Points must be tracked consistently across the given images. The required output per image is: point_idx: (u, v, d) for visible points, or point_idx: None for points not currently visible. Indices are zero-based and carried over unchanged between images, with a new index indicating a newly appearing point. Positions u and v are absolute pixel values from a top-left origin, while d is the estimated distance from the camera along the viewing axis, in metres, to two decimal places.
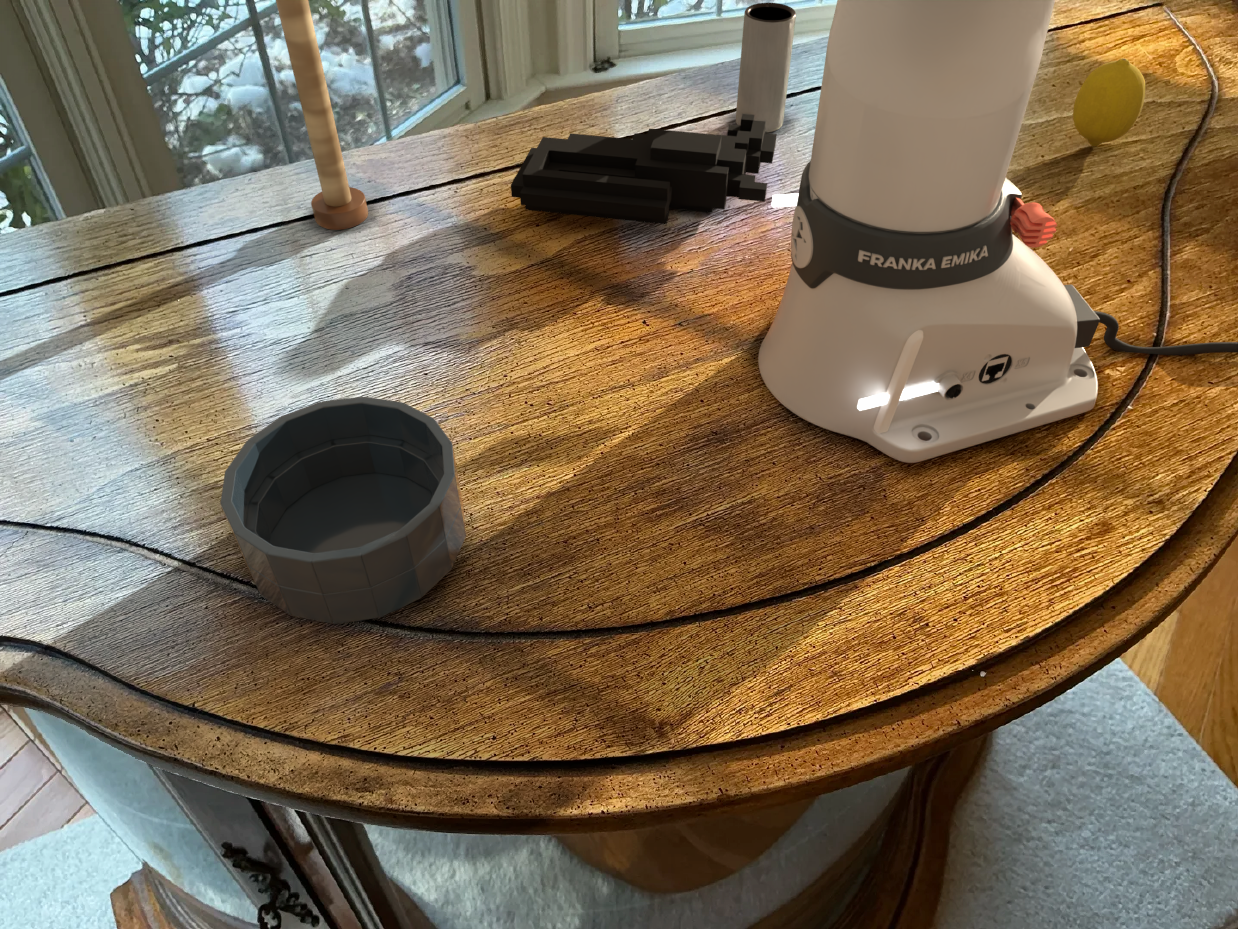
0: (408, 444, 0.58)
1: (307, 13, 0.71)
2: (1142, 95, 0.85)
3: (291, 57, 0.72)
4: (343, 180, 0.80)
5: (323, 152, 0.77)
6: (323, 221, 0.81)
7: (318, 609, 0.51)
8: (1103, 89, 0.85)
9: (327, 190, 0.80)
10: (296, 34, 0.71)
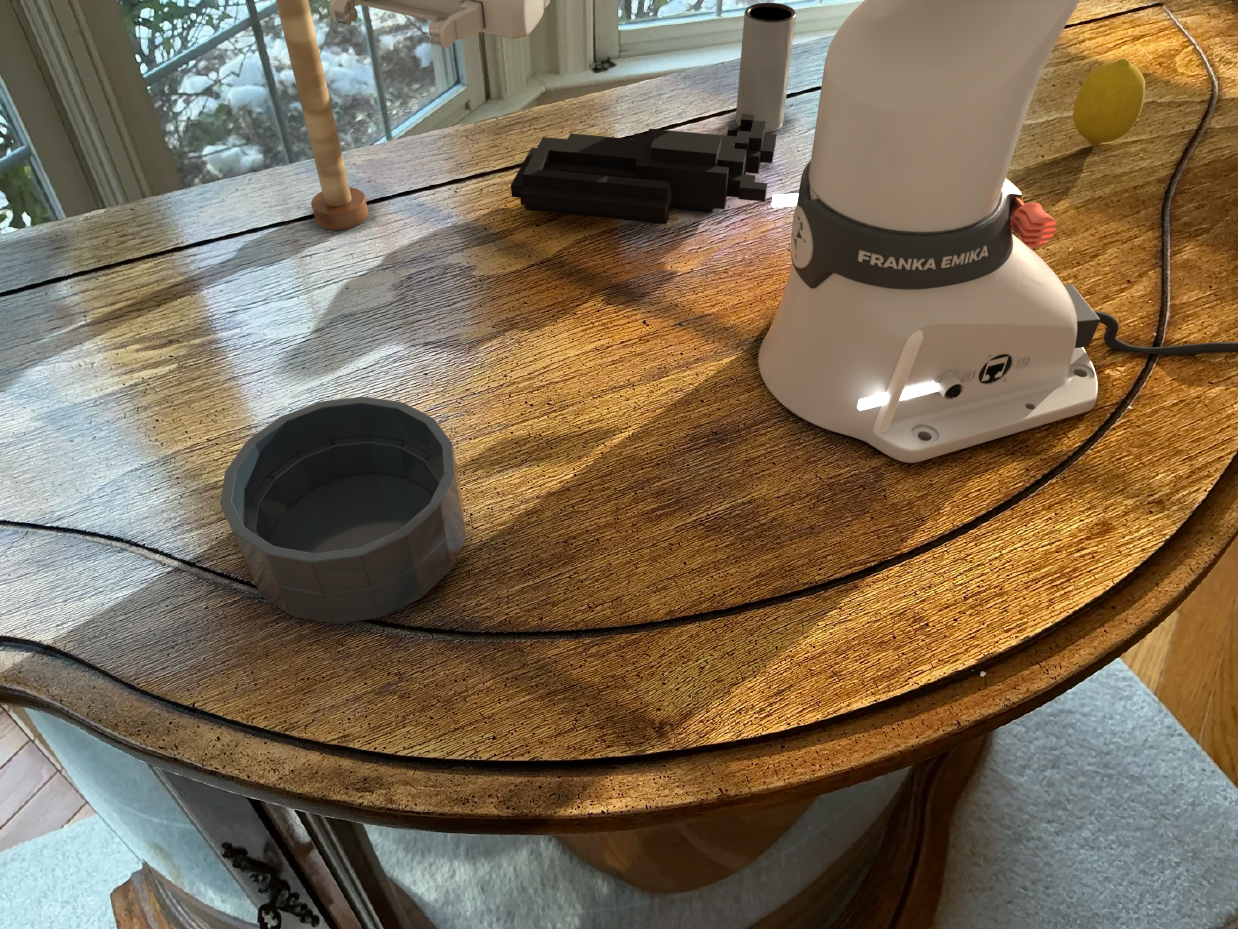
0: (408, 444, 0.58)
1: (307, 13, 0.71)
2: (1142, 95, 0.85)
3: (291, 57, 0.72)
4: (343, 180, 0.80)
5: (323, 152, 0.77)
6: (323, 221, 0.81)
7: (318, 609, 0.51)
8: (1103, 89, 0.85)
9: (327, 190, 0.80)
10: (296, 34, 0.71)
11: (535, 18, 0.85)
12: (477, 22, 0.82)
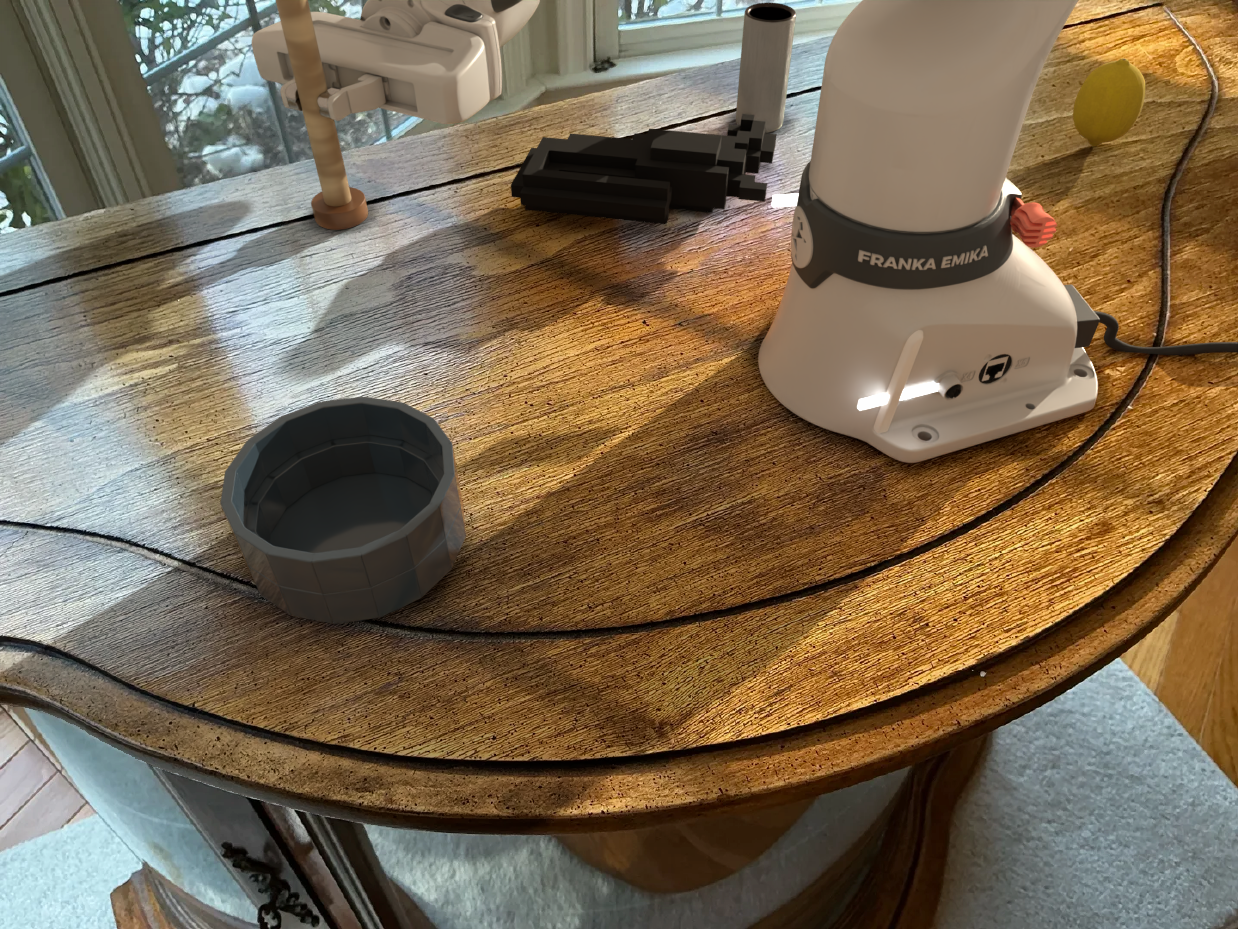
0: (408, 444, 0.58)
1: (307, 13, 0.71)
2: (1142, 95, 0.85)
3: (291, 57, 0.72)
4: (343, 180, 0.80)
5: (323, 151, 0.77)
6: (323, 221, 0.81)
7: (318, 609, 0.51)
8: (1103, 89, 0.85)
9: (327, 190, 0.80)
10: (296, 34, 0.71)
11: (474, 104, 0.77)
12: (375, 97, 0.76)
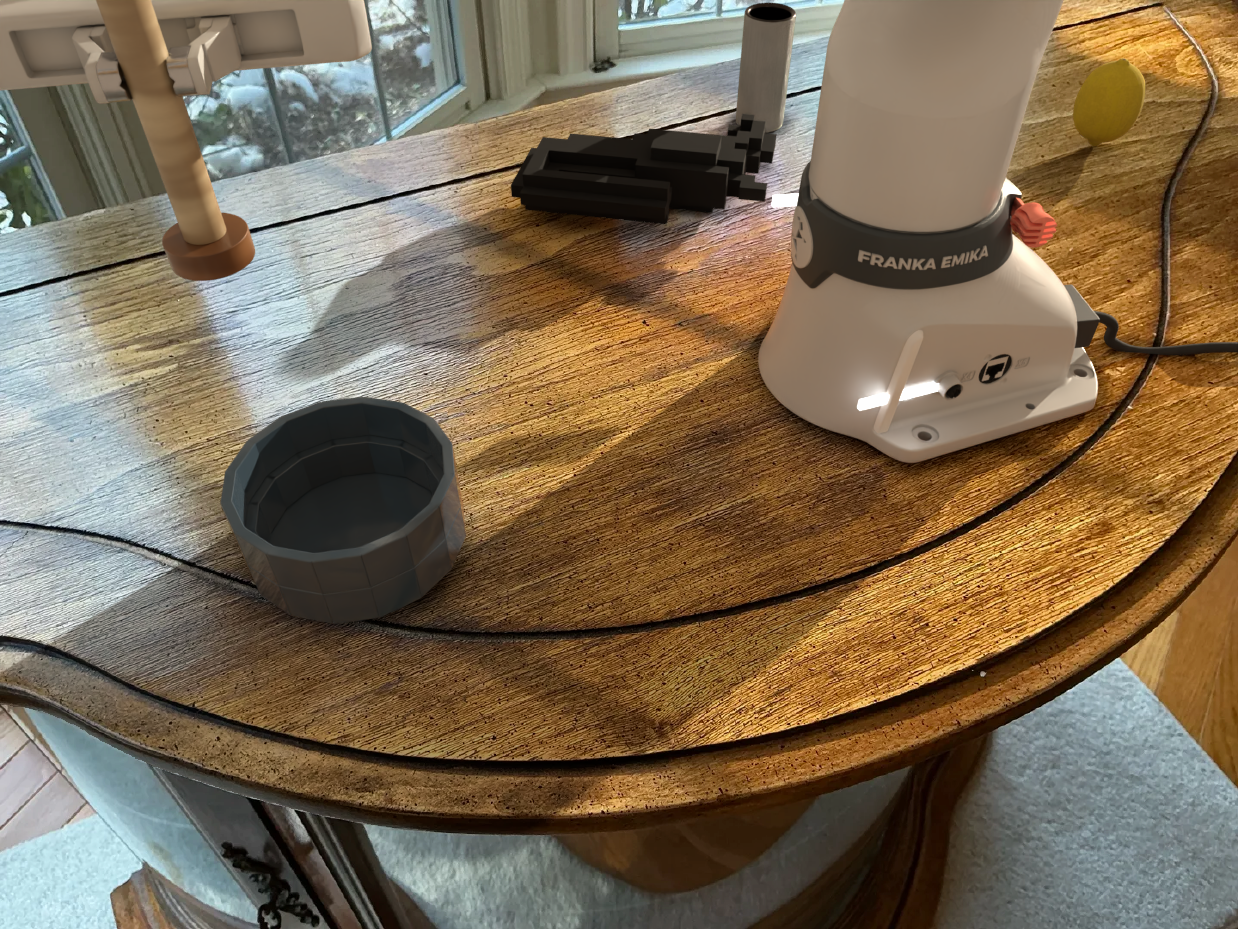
0: (408, 444, 0.58)
1: None
2: (1142, 95, 0.85)
3: (110, 4, 0.43)
4: (215, 196, 0.51)
5: (185, 156, 0.48)
6: (205, 270, 0.51)
7: (318, 609, 0.51)
8: (1103, 89, 0.85)
9: (197, 220, 0.50)
10: None
11: None
12: (234, 49, 0.49)
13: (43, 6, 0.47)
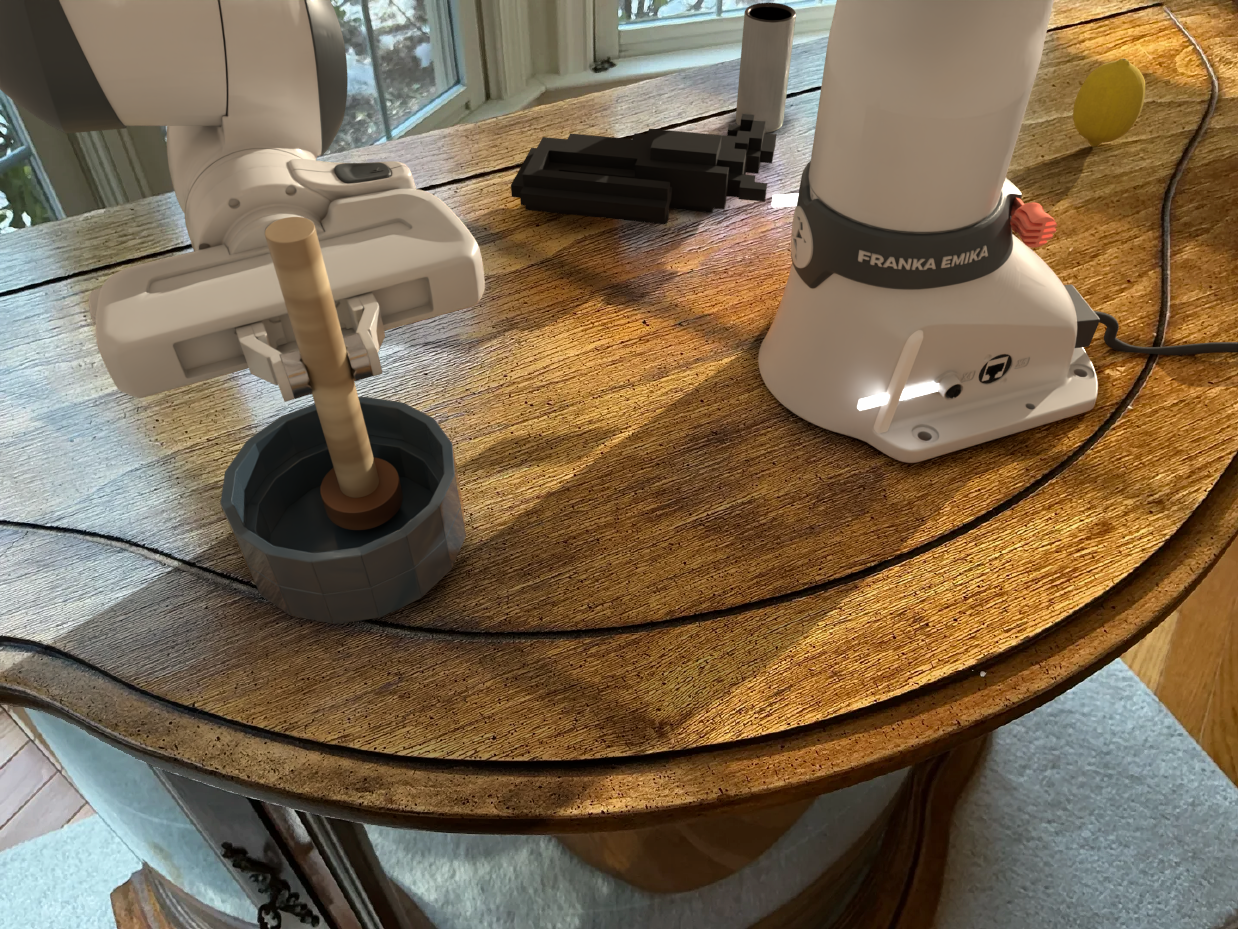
0: (408, 444, 0.58)
1: (319, 248, 0.45)
2: (1142, 95, 0.85)
3: (310, 322, 0.46)
4: None
5: (357, 428, 0.52)
6: (373, 519, 0.55)
7: (318, 609, 0.51)
8: (1103, 89, 0.85)
9: (362, 478, 0.54)
10: (320, 284, 0.45)
11: None
12: None
13: (200, 313, 0.50)
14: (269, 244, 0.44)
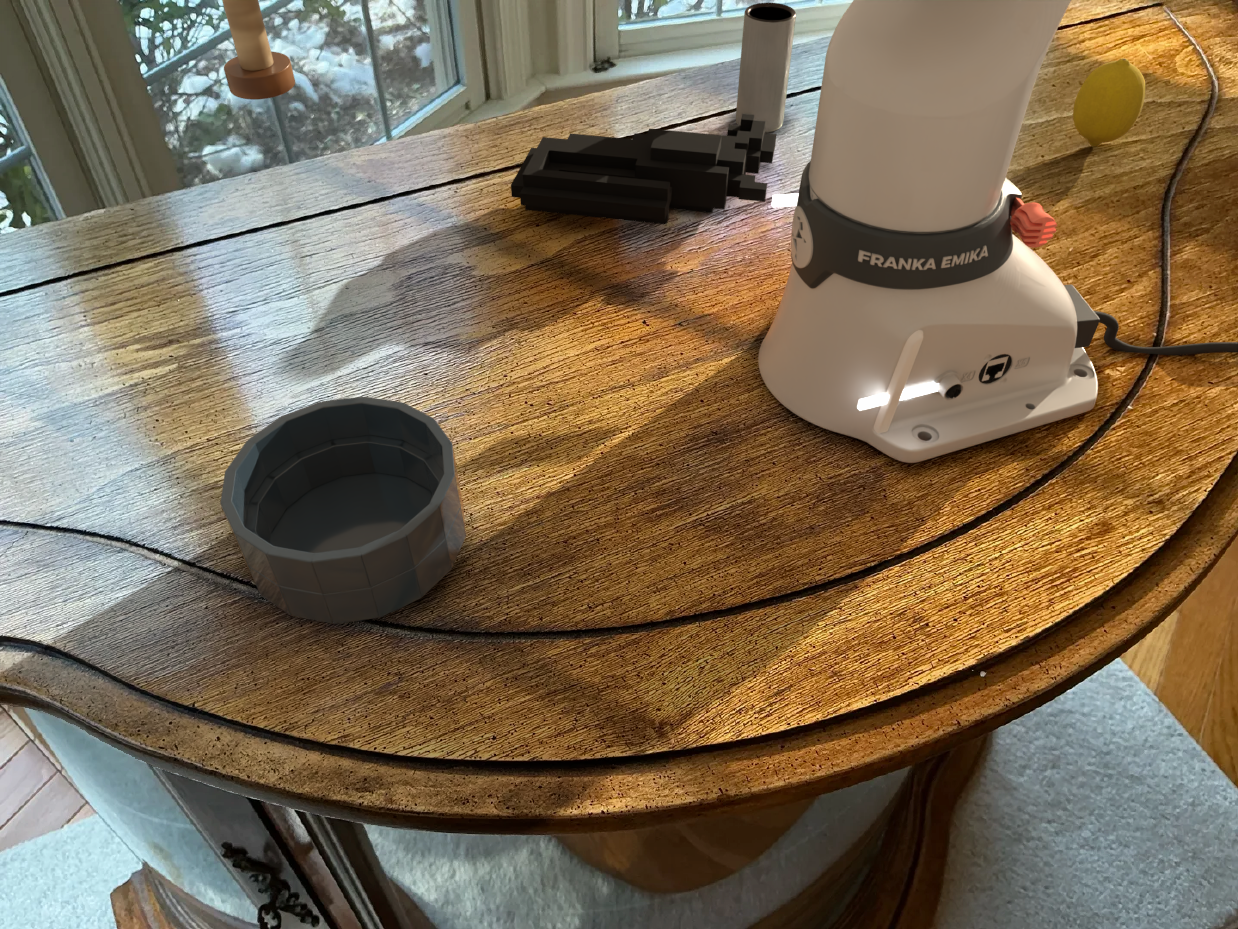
0: (408, 444, 0.58)
1: None
2: (1142, 95, 0.85)
3: None
4: (263, 35, 0.65)
5: None
6: (242, 89, 0.66)
7: (318, 609, 0.51)
8: (1103, 89, 0.85)
9: (243, 49, 0.65)
10: None
11: None
12: None
13: None
14: None
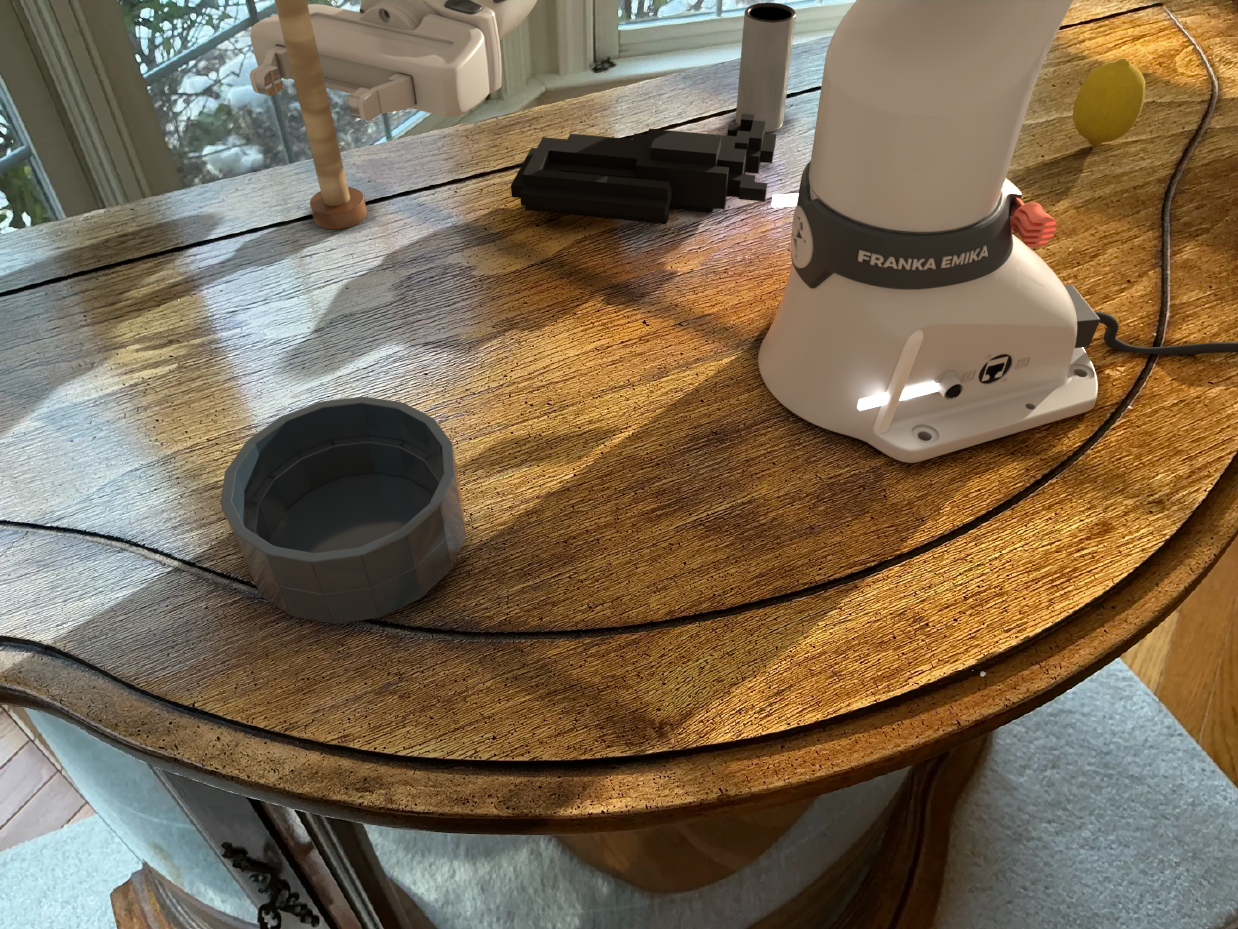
0: (408, 444, 0.58)
1: (306, 13, 0.71)
2: (1142, 95, 0.85)
3: (290, 57, 0.72)
4: (342, 179, 0.80)
5: (322, 151, 0.77)
6: (322, 221, 0.81)
7: (318, 609, 0.51)
8: (1103, 89, 0.85)
9: (325, 190, 0.80)
10: (294, 34, 0.71)
11: (474, 97, 0.77)
12: (405, 96, 0.75)
13: None
14: None
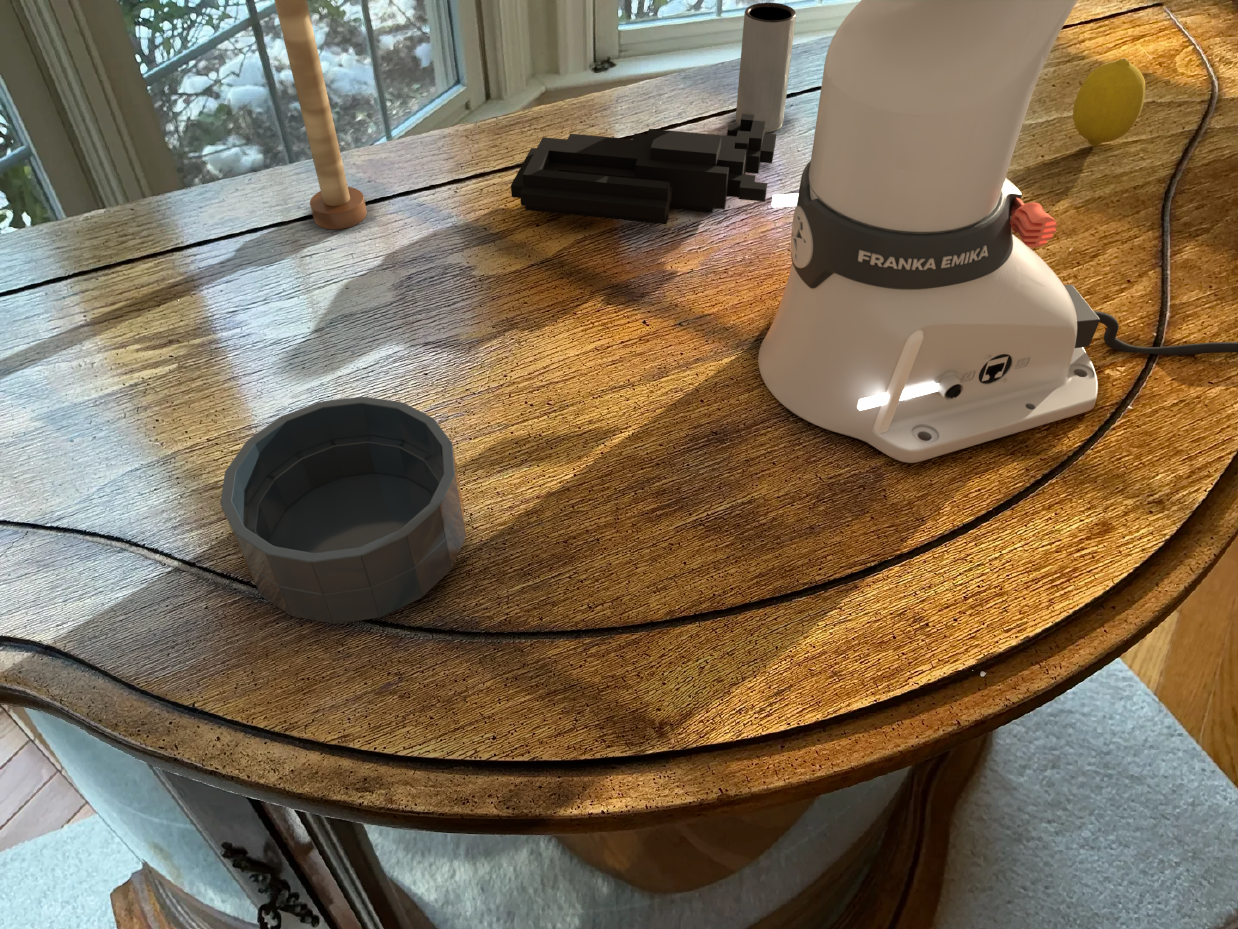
0: (408, 444, 0.58)
1: (306, 13, 0.71)
2: (1142, 95, 0.85)
3: (290, 57, 0.72)
4: (342, 179, 0.80)
5: (322, 151, 0.77)
6: (322, 221, 0.81)
7: (318, 609, 0.51)
8: (1103, 89, 0.85)
9: (325, 190, 0.80)
10: (294, 34, 0.71)
11: None
12: None
13: None
14: None
